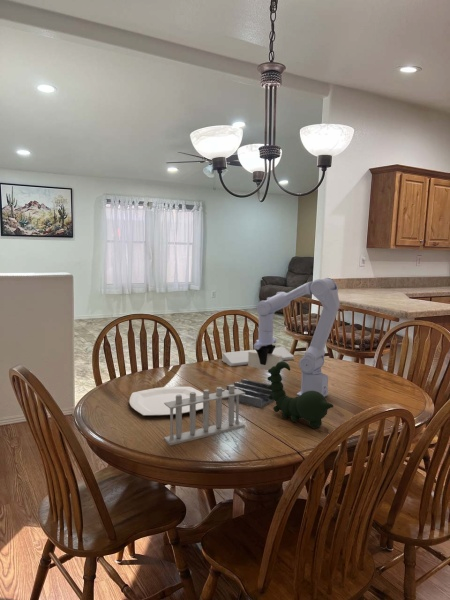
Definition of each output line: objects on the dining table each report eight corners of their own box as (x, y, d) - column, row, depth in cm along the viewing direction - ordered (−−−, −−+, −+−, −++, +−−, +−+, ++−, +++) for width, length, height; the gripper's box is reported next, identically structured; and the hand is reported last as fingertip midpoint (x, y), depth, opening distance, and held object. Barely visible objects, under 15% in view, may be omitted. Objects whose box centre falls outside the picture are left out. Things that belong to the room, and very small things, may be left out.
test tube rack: (237, 422, 135) (237, 381, 133) (244, 427, 131) (245, 385, 130) (163, 439, 122) (163, 395, 120) (170, 446, 118) (170, 400, 117)
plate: (124, 396, 157) (124, 391, 157) (194, 388, 167) (194, 383, 167) (136, 424, 133) (136, 418, 132) (218, 413, 142) (218, 408, 142)
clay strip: (281, 370, 169) (282, 355, 168) (278, 372, 167) (279, 357, 166) (251, 364, 177) (251, 350, 176) (248, 366, 175) (248, 351, 174)
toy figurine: (262, 418, 143) (324, 437, 123) (260, 361, 142) (322, 372, 122) (282, 411, 149) (343, 429, 129) (280, 357, 148) (341, 367, 128)
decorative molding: (292, 364, 213) (281, 355, 221) (293, 356, 211) (283, 346, 219) (230, 372, 198) (221, 361, 207) (231, 363, 197) (223, 352, 205)
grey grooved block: (282, 395, 160) (283, 387, 160) (261, 408, 147) (261, 399, 146) (242, 385, 170) (242, 378, 170) (218, 396, 157) (218, 389, 157)
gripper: (266, 326, 178) (265, 358, 179) (247, 331, 166) (246, 365, 168) (281, 328, 174) (280, 361, 175) (263, 334, 162) (262, 369, 164)
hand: (264, 363), depth 171 cm, fingers closed on clay strip, 2 cm apart
